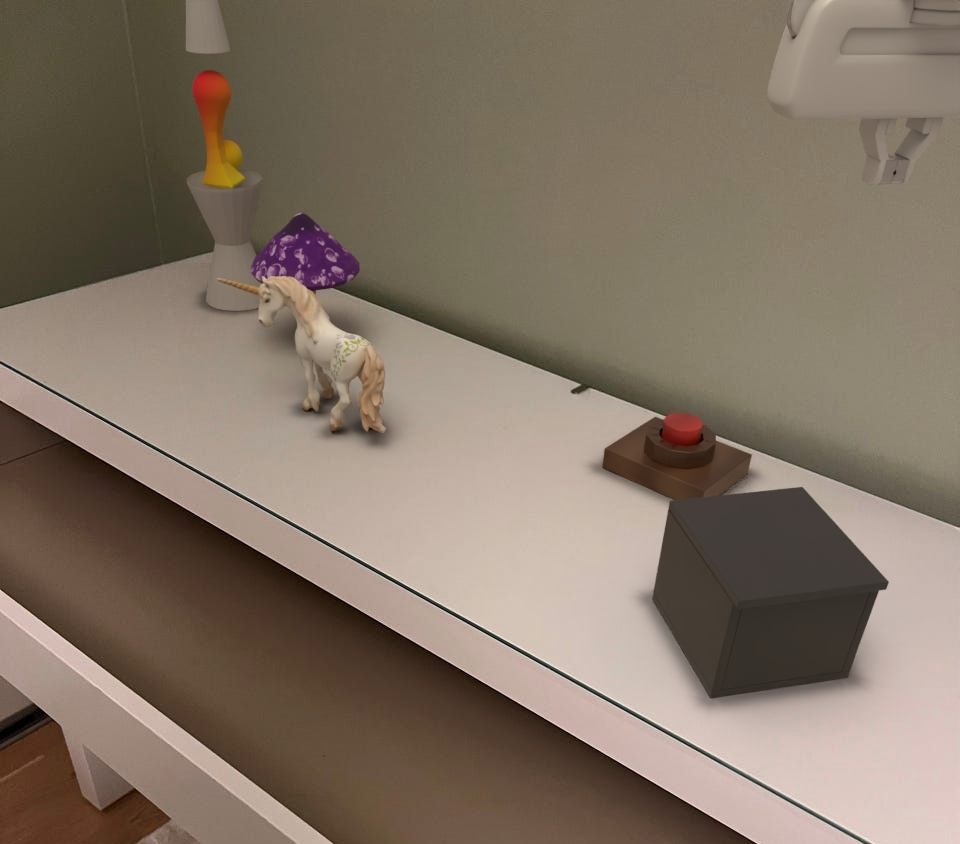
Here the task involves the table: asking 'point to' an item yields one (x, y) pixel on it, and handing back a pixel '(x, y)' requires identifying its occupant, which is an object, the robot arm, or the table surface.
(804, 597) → the lid
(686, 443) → the button
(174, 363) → the table surface
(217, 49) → the lava lamp
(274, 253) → the decorative mushroom
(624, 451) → the console
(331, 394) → the unicorn figurine
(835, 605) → the dark grey cubic box
